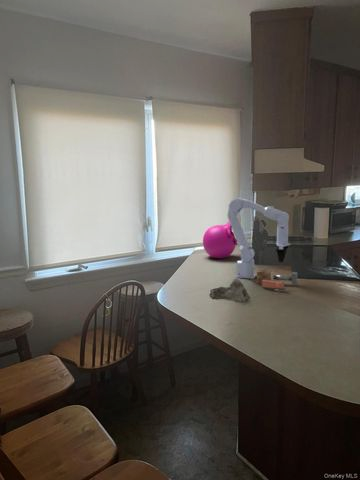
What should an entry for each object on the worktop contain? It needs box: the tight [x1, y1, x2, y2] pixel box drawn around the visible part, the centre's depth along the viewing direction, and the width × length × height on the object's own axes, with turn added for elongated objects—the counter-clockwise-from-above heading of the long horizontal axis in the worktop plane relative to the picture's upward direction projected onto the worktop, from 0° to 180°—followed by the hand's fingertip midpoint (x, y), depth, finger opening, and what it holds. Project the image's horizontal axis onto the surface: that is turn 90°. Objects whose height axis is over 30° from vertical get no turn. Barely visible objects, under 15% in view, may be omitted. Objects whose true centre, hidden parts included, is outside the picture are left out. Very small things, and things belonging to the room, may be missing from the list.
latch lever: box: [261, 280, 285, 290], centre depth 169 cm, size 4×10×3 cm, turn 56°
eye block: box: [256, 267, 272, 285], centre depth 181 cm, size 6×8×6 cm
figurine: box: [202, 221, 238, 259], centre depth 243 cm, size 23×24×25 cm
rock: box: [209, 278, 250, 302], centre depth 158 cm, size 18×11×10 cm, turn 72°
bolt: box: [272, 271, 298, 286], centre depth 177 cm, size 11×4×6 cm, turn 69°
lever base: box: [273, 288, 286, 293], centre depth 167 cm, size 5×5×1 cm
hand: (281, 260), depth 186 cm, fingers open, 7 cm apart
